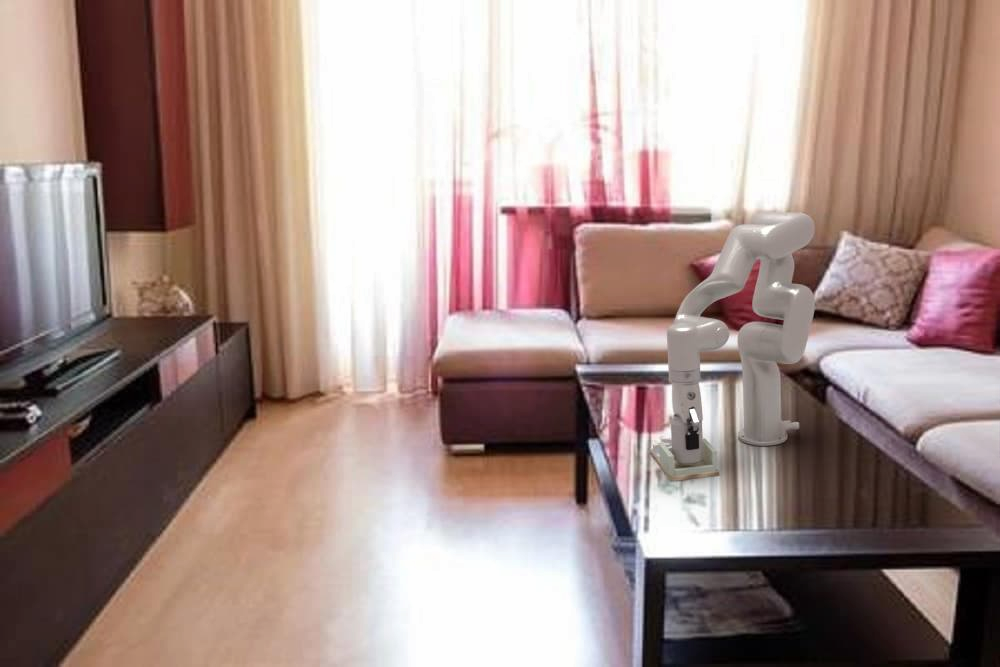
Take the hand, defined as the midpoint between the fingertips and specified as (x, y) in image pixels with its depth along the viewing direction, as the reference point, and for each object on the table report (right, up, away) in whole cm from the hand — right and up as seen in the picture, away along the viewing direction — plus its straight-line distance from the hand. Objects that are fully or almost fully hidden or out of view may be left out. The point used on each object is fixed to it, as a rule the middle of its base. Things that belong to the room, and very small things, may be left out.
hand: (687, 443), depth 218 cm
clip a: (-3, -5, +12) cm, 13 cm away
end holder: (+1, -6, +1) cm, 6 cm away
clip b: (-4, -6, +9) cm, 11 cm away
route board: (0, -6, +6) cm, 8 cm away
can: (0, -5, +1) cm, 5 cm away
